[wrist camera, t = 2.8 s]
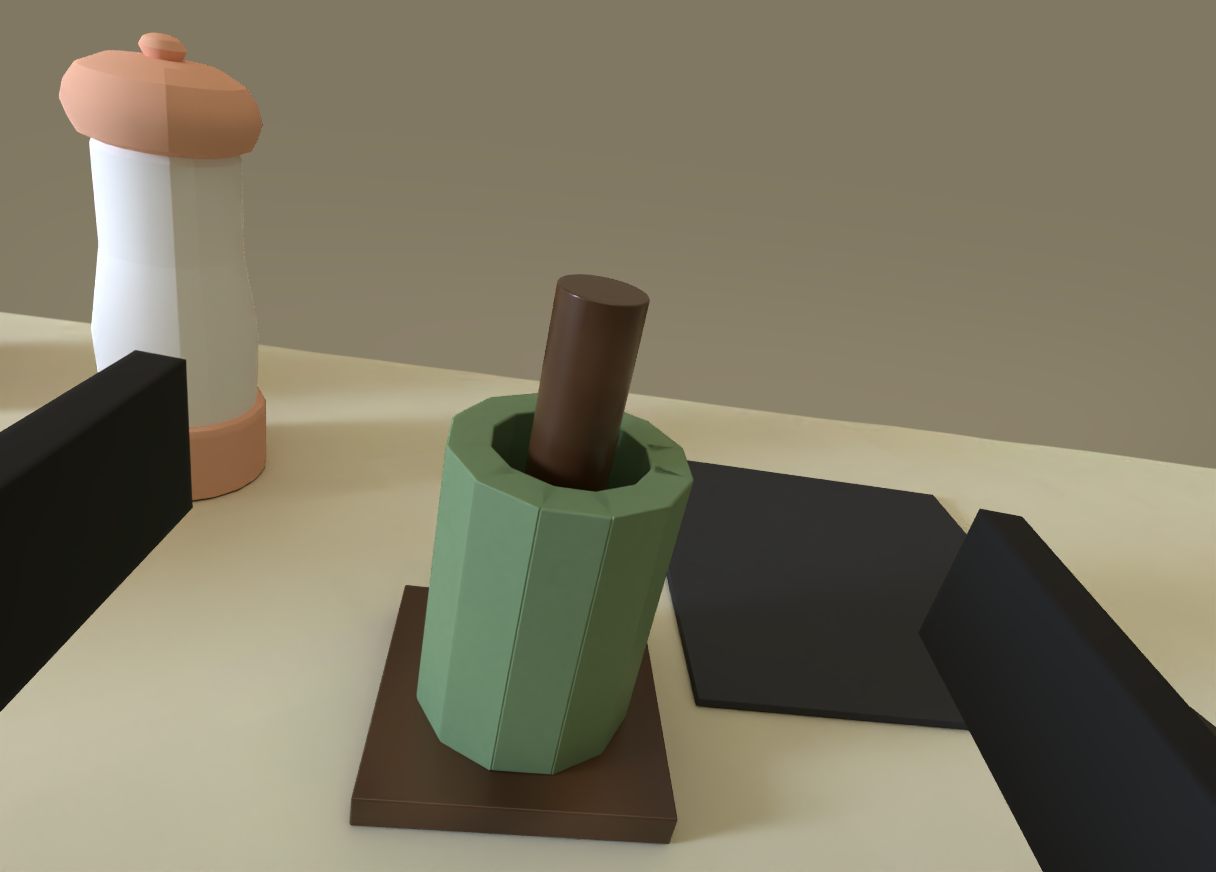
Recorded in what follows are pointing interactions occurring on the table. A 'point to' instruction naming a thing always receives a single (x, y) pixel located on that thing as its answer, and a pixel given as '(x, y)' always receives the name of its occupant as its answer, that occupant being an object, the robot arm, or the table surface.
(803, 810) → the table surface
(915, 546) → the placemat
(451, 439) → the hollow cylinder
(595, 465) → the peg stand
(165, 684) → the table surface
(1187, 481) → the table surface
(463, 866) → the table surface
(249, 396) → the pepper shaker
